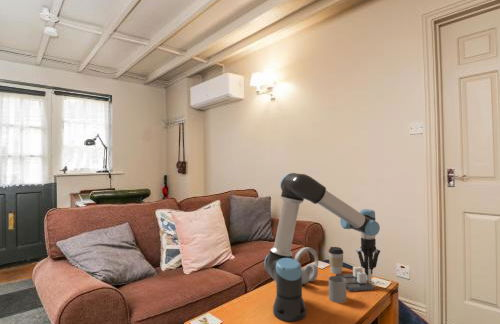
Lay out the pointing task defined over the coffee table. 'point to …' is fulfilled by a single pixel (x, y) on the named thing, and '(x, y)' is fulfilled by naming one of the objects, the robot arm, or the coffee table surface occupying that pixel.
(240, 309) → the coffee table surface
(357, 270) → the block
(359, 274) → the block
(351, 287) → the console
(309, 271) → the headphones
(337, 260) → the coffee cup
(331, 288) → the cup
